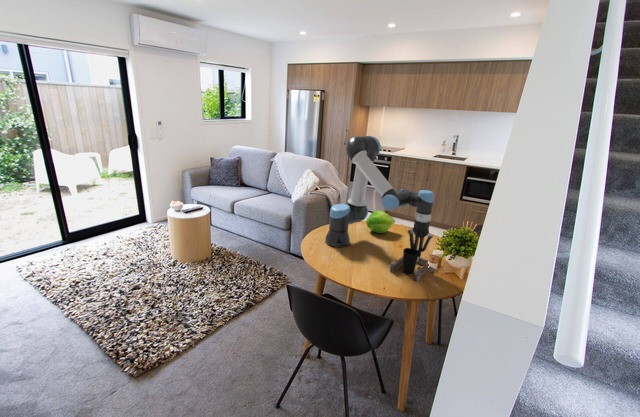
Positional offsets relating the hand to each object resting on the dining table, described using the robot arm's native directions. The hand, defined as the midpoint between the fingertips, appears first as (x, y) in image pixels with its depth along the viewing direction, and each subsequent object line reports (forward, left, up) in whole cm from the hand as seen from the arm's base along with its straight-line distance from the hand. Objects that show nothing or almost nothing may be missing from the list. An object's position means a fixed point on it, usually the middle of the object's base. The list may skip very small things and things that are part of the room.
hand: (415, 261), depth 167 cm
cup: (0, -9, -3) cm, 10 cm away
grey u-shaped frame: (0, -6, -3) cm, 7 cm away
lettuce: (-37, +31, -3) cm, 48 cm away
